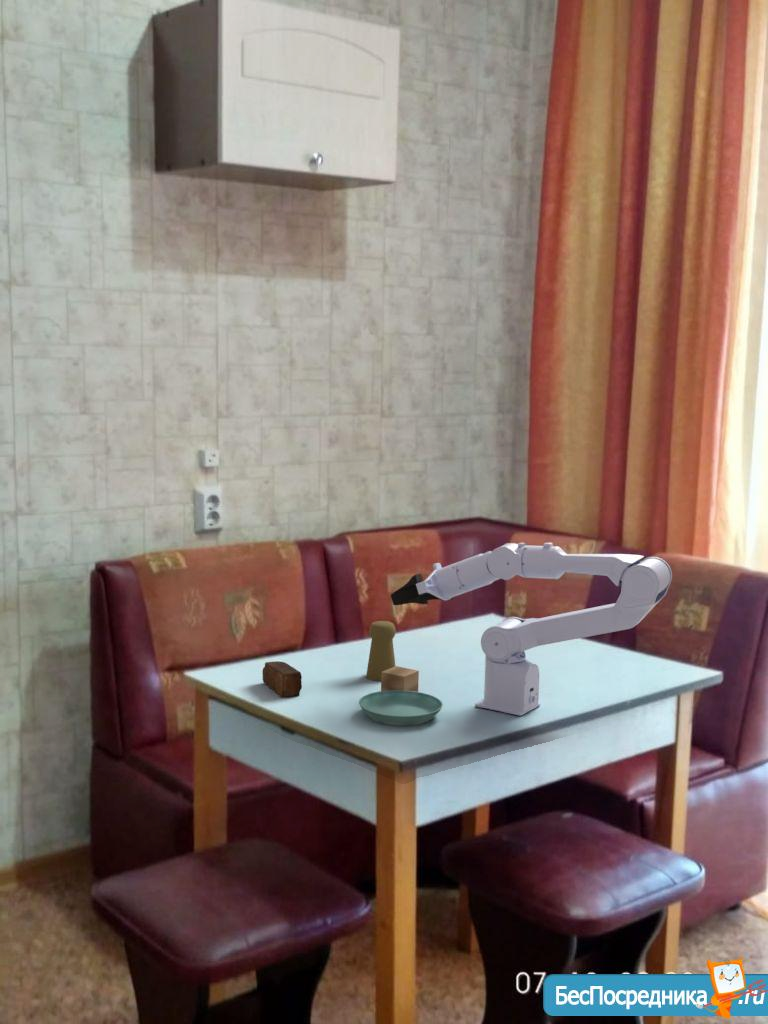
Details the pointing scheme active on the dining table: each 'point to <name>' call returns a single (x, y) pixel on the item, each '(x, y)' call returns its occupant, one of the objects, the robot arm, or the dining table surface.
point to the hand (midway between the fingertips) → (402, 598)
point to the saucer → (400, 707)
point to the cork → (381, 649)
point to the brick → (282, 678)
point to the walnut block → (399, 679)
